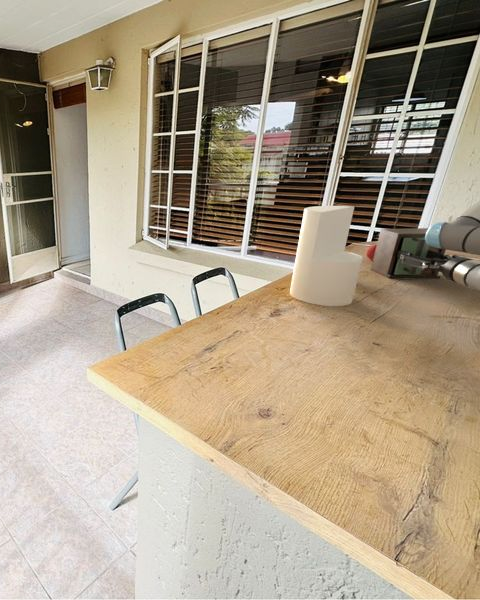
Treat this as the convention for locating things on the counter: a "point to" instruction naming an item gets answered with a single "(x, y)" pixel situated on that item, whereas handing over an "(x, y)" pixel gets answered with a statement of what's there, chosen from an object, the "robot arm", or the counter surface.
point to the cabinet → (389, 249)
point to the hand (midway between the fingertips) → (412, 253)
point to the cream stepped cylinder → (325, 258)
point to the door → (416, 248)
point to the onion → (371, 252)
